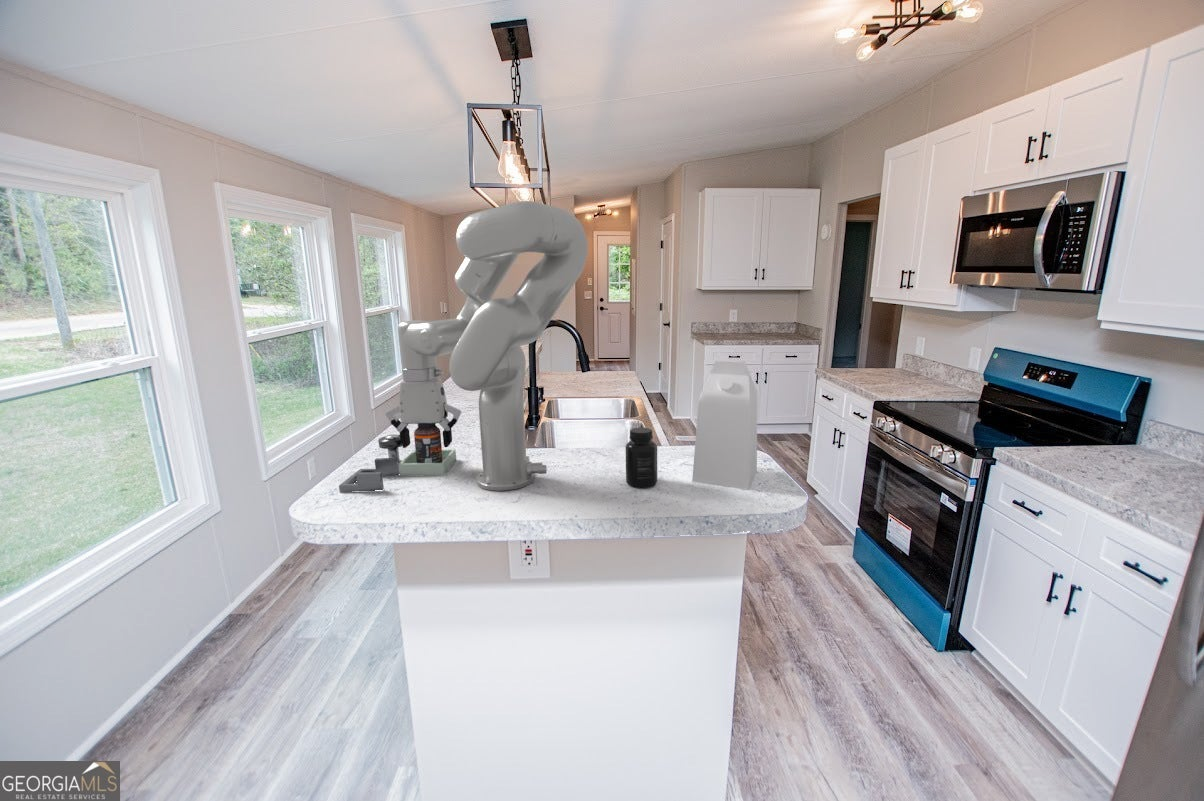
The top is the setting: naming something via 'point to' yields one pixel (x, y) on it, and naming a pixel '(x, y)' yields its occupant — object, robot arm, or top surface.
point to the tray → (426, 465)
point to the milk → (727, 428)
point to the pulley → (391, 445)
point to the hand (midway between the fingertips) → (427, 445)
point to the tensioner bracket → (371, 476)
